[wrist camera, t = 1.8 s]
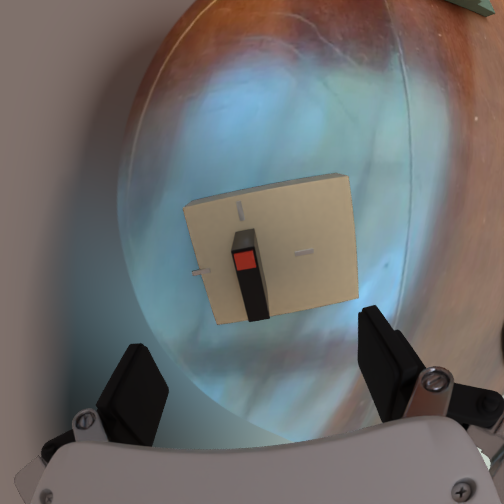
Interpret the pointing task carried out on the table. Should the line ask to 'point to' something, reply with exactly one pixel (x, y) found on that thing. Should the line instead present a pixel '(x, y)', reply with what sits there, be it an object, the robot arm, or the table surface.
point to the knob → (250, 275)
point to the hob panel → (279, 244)
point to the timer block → (476, 6)
